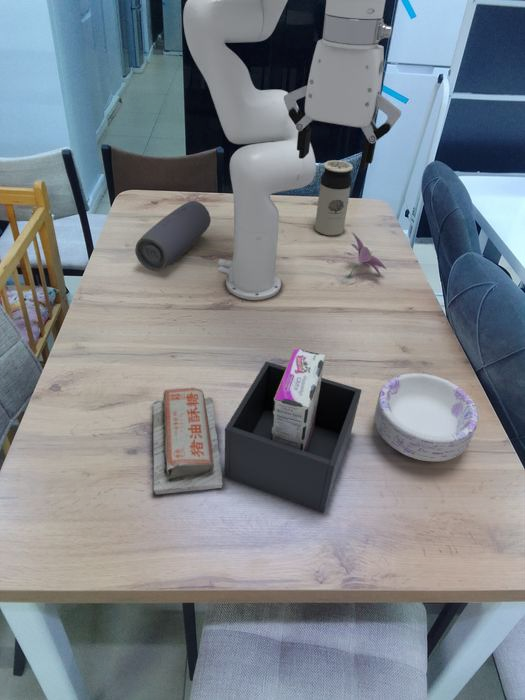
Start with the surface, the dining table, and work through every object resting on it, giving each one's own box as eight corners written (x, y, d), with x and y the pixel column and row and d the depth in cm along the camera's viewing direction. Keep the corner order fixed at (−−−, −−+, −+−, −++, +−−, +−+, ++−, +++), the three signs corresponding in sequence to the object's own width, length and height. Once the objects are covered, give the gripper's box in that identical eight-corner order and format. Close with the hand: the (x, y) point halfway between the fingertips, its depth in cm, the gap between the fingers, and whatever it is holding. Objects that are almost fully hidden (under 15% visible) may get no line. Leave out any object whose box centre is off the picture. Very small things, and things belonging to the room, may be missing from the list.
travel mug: (315, 222, 144) (323, 158, 133) (343, 225, 144) (353, 161, 132) (313, 234, 138) (322, 169, 127) (343, 237, 138) (353, 172, 126)
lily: (381, 294, 118) (402, 257, 115) (337, 274, 116) (358, 235, 113) (367, 282, 129) (386, 248, 127) (327, 263, 127) (345, 228, 124)
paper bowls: (364, 401, 89) (373, 368, 84) (450, 406, 90) (463, 373, 84) (377, 472, 78) (388, 438, 73) (475, 477, 78) (493, 444, 73)
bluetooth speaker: (181, 231, 136) (179, 195, 129) (212, 238, 133) (212, 202, 127) (135, 270, 119) (130, 231, 113) (170, 280, 117) (167, 240, 110)
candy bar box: (284, 422, 84) (293, 346, 73) (314, 430, 83) (327, 353, 72) (265, 475, 75) (272, 397, 65) (298, 484, 74) (310, 407, 64)
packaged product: (150, 386, 83) (211, 381, 84) (153, 406, 86) (211, 402, 87) (151, 476, 69) (223, 469, 71) (154, 497, 72) (223, 489, 74)
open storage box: (224, 476, 76) (224, 428, 69) (262, 407, 87) (266, 360, 80) (324, 512, 72) (334, 466, 65) (350, 435, 83) (361, 389, 76)
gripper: (420, 36, 68) (393, 164, 79) (298, 22, 72) (288, 145, 83) (412, 43, 62) (383, 180, 73) (280, 28, 67) (272, 159, 78)
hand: (333, 161), depth 78 cm, fingers open, 9 cm apart
